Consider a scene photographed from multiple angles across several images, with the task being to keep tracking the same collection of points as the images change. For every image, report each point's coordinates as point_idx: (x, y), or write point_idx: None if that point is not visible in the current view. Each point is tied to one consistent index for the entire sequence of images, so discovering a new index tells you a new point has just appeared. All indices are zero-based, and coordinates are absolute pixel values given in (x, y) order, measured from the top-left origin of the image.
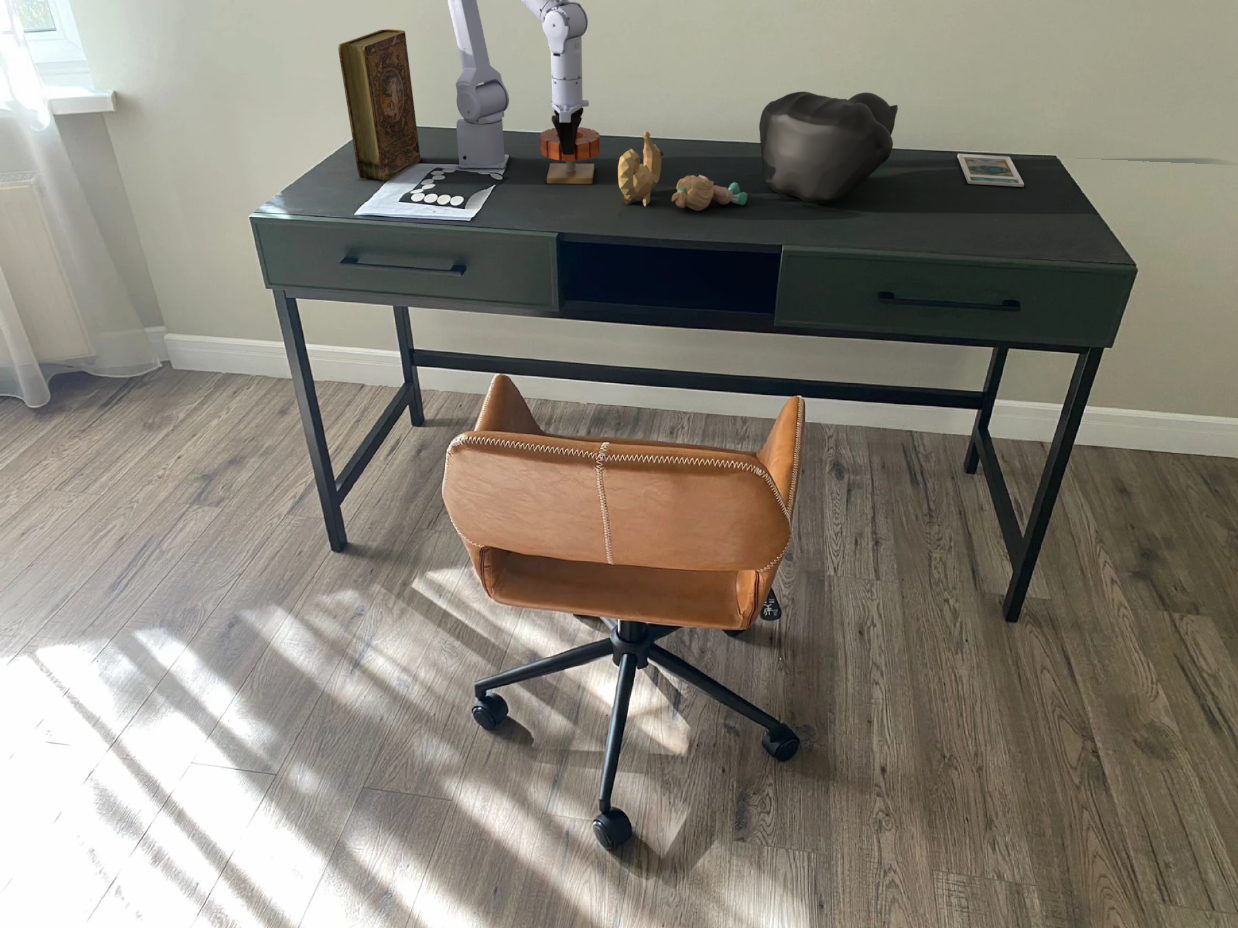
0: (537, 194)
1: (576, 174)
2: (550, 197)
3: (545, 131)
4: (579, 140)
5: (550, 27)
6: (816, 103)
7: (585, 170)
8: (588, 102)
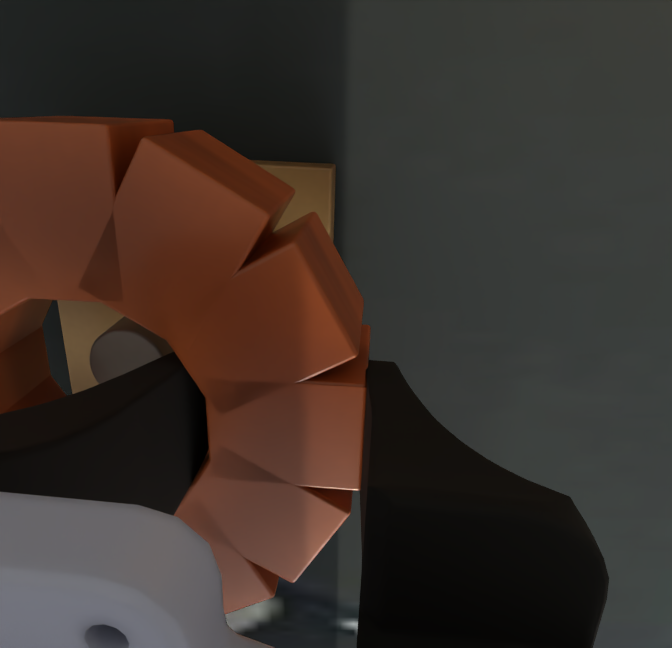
0: (493, 461)
1: None
2: (550, 401)
3: None
4: (230, 339)
5: None
6: None
7: None
8: (54, 578)
